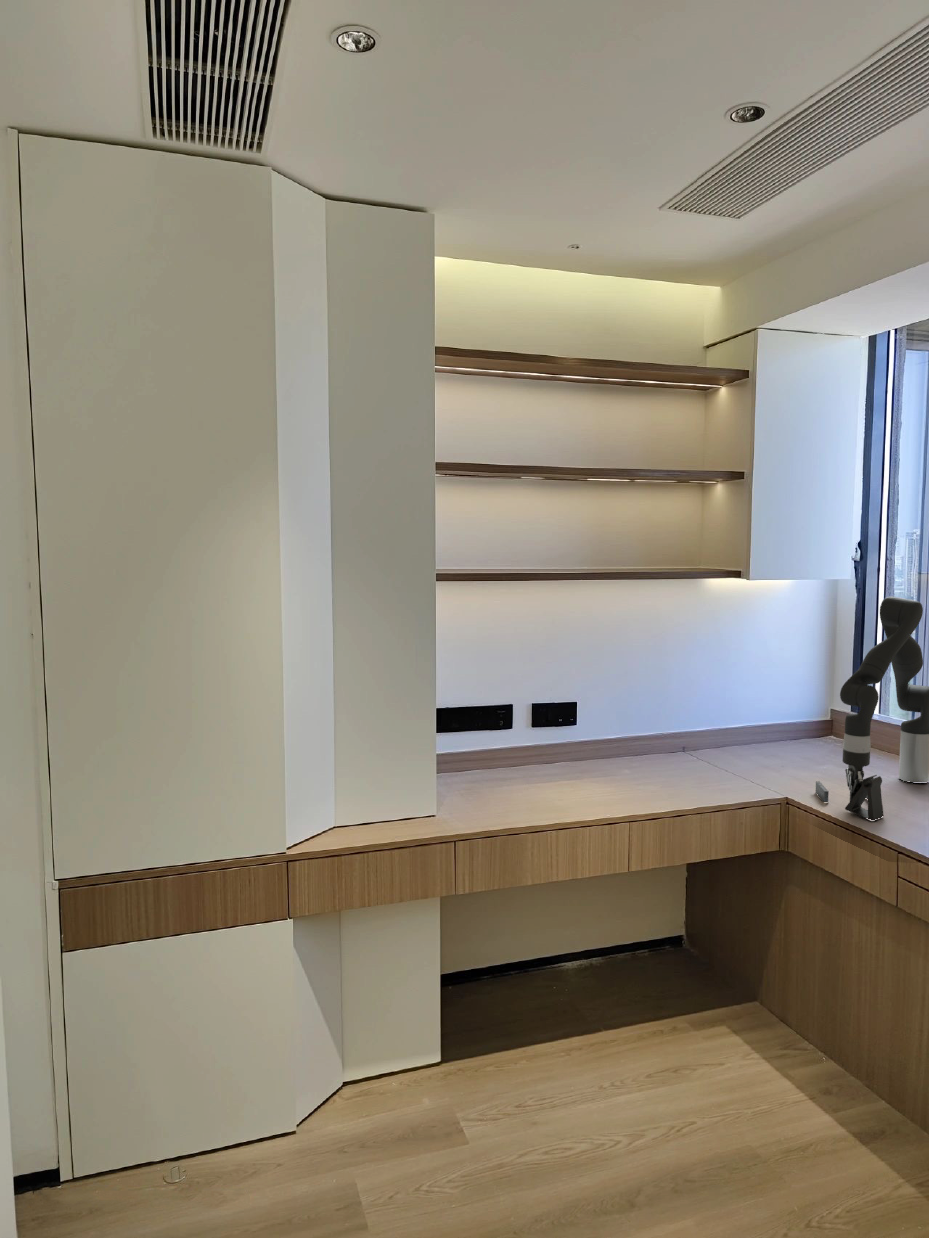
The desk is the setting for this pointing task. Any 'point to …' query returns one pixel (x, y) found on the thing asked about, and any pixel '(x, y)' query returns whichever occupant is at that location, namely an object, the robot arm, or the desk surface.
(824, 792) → the chute
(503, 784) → the desk surface
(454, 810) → the desk surface
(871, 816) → the dark a-frame stand
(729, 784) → the desk surface
